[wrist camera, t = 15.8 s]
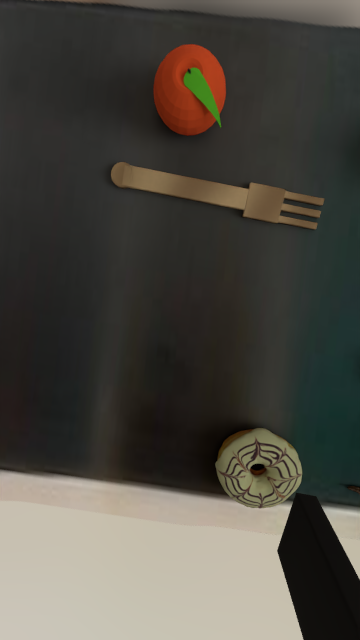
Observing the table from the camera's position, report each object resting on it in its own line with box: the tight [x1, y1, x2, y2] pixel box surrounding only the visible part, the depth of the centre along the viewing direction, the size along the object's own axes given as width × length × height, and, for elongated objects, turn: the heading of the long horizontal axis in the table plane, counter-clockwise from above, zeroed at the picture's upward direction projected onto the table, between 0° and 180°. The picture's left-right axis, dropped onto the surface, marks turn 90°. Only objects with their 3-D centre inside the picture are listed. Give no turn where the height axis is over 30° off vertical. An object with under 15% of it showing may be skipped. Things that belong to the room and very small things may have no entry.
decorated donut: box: [215, 428, 302, 508], centre depth 39 cm, size 10×11×4 cm
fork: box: [111, 162, 324, 230], centre depth 34 cm, size 24×4×1 cm, turn 79°
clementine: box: [154, 44, 226, 136], centre depth 29 cm, size 8×7×7 cm
